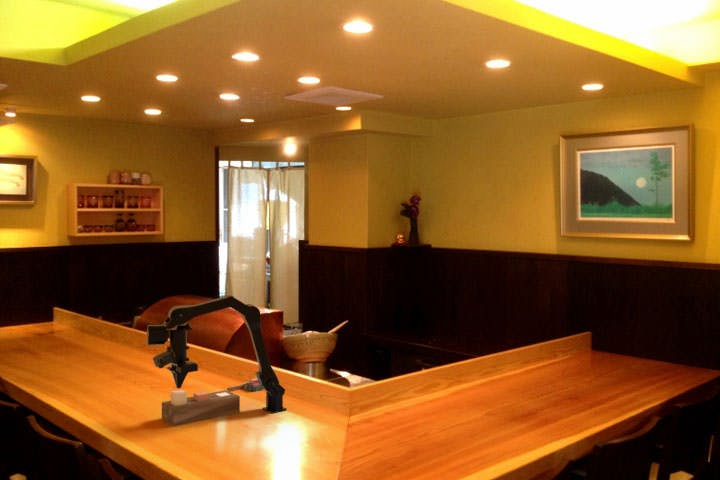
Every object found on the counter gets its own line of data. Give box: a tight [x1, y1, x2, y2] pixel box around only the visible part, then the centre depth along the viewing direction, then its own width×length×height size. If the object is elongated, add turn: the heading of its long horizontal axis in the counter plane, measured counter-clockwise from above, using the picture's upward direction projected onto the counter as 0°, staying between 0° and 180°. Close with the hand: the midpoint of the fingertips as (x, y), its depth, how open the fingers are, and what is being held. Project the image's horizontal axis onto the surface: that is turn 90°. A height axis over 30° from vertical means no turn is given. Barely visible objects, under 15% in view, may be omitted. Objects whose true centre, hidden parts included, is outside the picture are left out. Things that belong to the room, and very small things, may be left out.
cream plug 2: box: [215, 392, 231, 397], centre depth 252 cm, size 4×4×6 cm
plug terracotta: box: [192, 390, 210, 402], centre depth 246 cm, size 4×4×6 cm
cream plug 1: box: [170, 389, 187, 406], centre depth 241 cm, size 4×4×6 cm
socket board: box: [161, 389, 241, 427], centre depth 246 cm, size 10×25×6 cm, turn 129°
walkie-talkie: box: [226, 377, 264, 393], centre depth 282 cm, size 9×4×20 cm
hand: (178, 388), depth 240 cm, fingers closed
